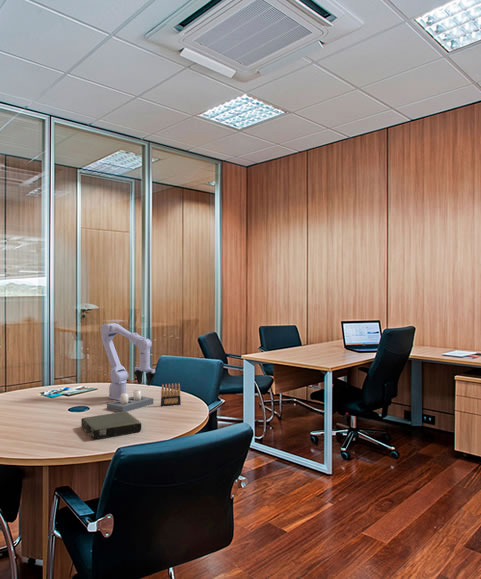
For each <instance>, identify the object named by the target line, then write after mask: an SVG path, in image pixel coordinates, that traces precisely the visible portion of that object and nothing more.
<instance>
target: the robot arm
mask: <svg viewBox="0 0 481 579" xmlns="http://www.w3.org/2000/svg"><path fill="white" fill-rule="evenodd" d="M99 331H100V334H101V342H102V346H103V347H104V350H105V353H106V356H107V359H108V361H109V364H110V368H111V369H110V371H109V375H110V380H111V383H110V385H109V386H108V388H109V389H108V395H109V396H108V397H107V399H111V400H114V401H115V400H116V401H119V400H121V394H122V393H127V380H128V379H129V377H130V375H129V372H128V371H127V370H126V368H125V367H124V366H123V365H122V364H121V361H120V358H119V355H118V352H117V350H116V348H115V345H114V341H113V339H114V338H115V336H117V334H118V335H121V336H123V337H125V338H127V339H128V341H129V342H130V343H132V344H133V345H135V346H137V347H138V350H139V351H138V352H139V366H134V371H133V374H134V375H135V377H136V381H137V384H138V385H142V384H143V382H142V381H143V375H144V373H145V376H146V382H147V383H146V384H147V386H148V387H149V386H152V382H153V379H154V377H155V375H156V369H155V368H152V367H151V348H152V346H153V342H152V340H151V339H150V338H146V337H144V336H141V335H140V334H139V333H138V332H131V331H129V330H128V329H126V328H124V327H123V326H122V324H118V323H117V322H111V323H103V324H102V326H101V327H100V329H99ZM128 398H130V396H128Z"/></svg>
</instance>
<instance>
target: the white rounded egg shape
mask: <svg viewBox="0 0 481 579" xmlns="http://www.w3.org/2000/svg"><path fill="white" fill-rule="evenodd" d="M141 396H142V390H140V389H134V390H133V397H134V401H139V400H141Z"/></svg>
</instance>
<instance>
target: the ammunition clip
mask: <svg viewBox="0 0 481 579" xmlns="http://www.w3.org/2000/svg"><path fill="white" fill-rule="evenodd" d="M177 383H178V384H177ZM177 383H176V382H175V383H173V382H172V383H171V384H170V383H168V385H167V383H165V386H164V384H163V383H162V384H161V392H160V393H161V395H160V407H173V406H174V405H175V406H181V403H182V402H181V400H182V399H181V386H180V383H179V382H177Z"/></svg>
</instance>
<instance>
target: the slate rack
mask: <svg viewBox="0 0 481 579" xmlns="http://www.w3.org/2000/svg"><path fill="white" fill-rule="evenodd" d="M128 397H129V398H128ZM147 405H148V406H150V405H154V397H147V396H142V395H141V400H139V401H134V396H131V397H130V396H129V393H127V392H126V393H122V394H121V400H116V401H115V400H114V401H112V402H108V403H106V409H107V410H109V411H114V412H116V413H117V412H129V411H130V412H131V411H134V410H136V409H141V408H143V407H146V406H147Z"/></svg>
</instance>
